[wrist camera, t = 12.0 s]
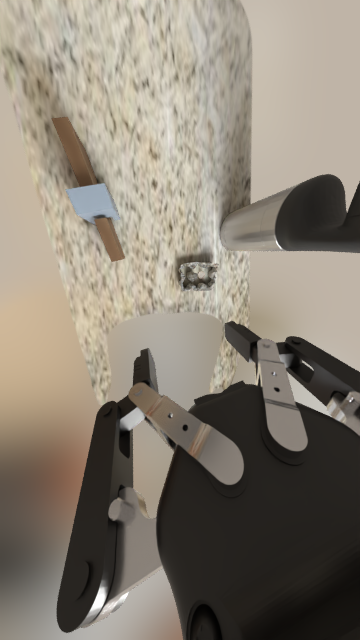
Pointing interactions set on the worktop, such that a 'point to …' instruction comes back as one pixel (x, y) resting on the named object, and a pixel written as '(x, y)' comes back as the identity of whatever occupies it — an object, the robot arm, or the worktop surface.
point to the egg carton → (201, 274)
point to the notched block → (93, 202)
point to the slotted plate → (87, 181)
